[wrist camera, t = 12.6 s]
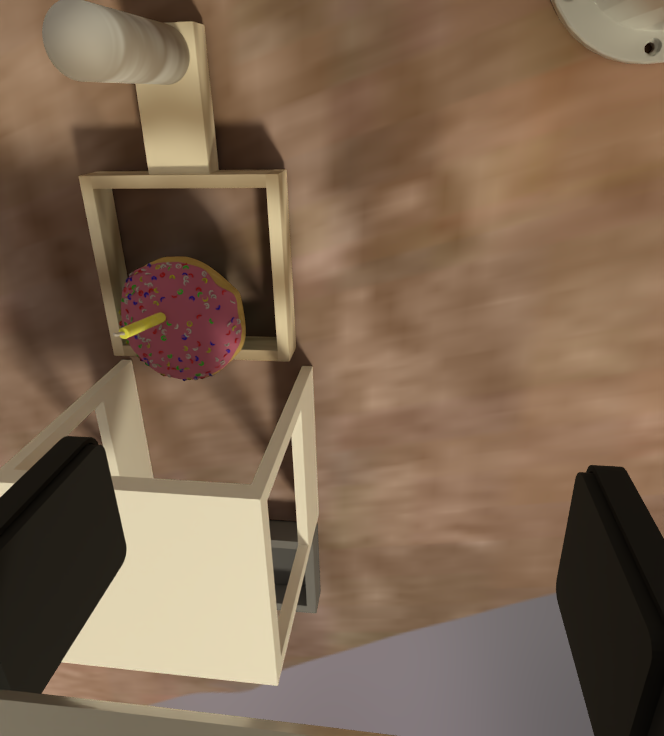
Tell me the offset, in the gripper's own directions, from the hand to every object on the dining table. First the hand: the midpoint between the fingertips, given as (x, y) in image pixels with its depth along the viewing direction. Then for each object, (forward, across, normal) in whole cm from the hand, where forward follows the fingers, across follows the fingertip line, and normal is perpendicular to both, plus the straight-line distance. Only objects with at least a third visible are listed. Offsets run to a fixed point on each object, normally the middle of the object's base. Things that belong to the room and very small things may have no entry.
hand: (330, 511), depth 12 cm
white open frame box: (+30, +13, +18) cm, 38 cm away
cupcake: (+31, +14, +6) cm, 34 cm away
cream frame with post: (+30, +14, -1) cm, 33 cm away
